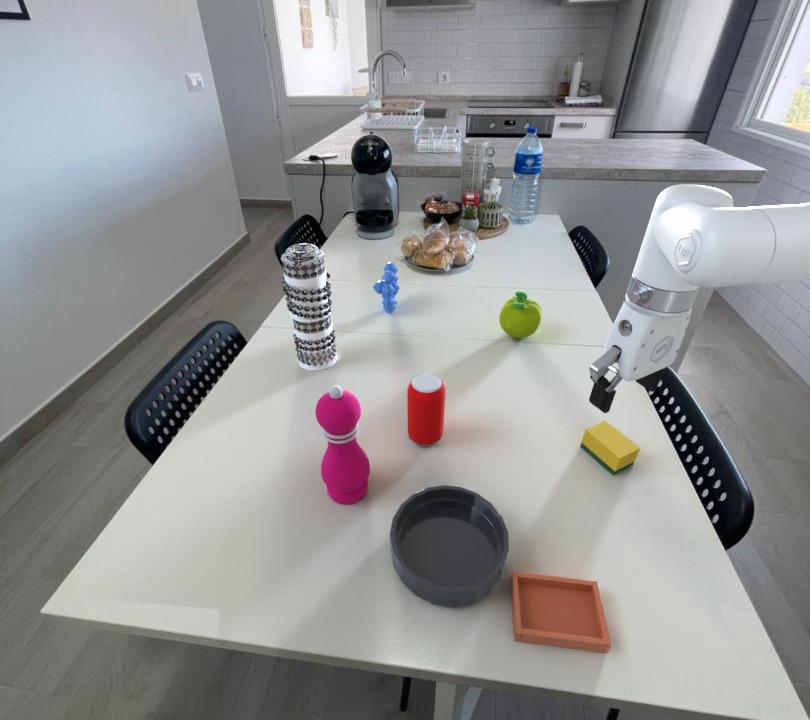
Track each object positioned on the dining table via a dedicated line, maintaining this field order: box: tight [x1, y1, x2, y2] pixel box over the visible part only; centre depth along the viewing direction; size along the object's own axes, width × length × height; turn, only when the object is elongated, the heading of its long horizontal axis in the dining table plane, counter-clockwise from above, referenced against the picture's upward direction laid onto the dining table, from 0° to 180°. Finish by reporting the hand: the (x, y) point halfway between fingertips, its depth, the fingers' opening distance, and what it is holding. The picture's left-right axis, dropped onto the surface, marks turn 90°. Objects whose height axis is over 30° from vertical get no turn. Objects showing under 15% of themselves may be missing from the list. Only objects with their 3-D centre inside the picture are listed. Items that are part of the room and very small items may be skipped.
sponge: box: [579, 420, 641, 477], centre depth 72 cm, size 7×4×4 cm, turn 28°
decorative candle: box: [280, 242, 338, 372], centre depth 89 cm, size 9×9×25 cm
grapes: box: [372, 261, 401, 315], centre depth 111 cm, size 12×7×12 cm, turn 175°
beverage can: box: [406, 373, 447, 447], centre depth 74 cm, size 6×6×12 cm
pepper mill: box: [315, 384, 371, 505], centre depth 63 cm, size 7×7×20 cm
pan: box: [389, 484, 510, 608], centre depth 59 cm, size 15×15×4 cm
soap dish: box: [509, 571, 612, 654], centre depth 53 cm, size 10×7×2 cm
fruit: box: [498, 290, 543, 340], centre depth 101 cm, size 9×9×10 cm
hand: (622, 396), depth 66 cm, fingers open, 9 cm apart
